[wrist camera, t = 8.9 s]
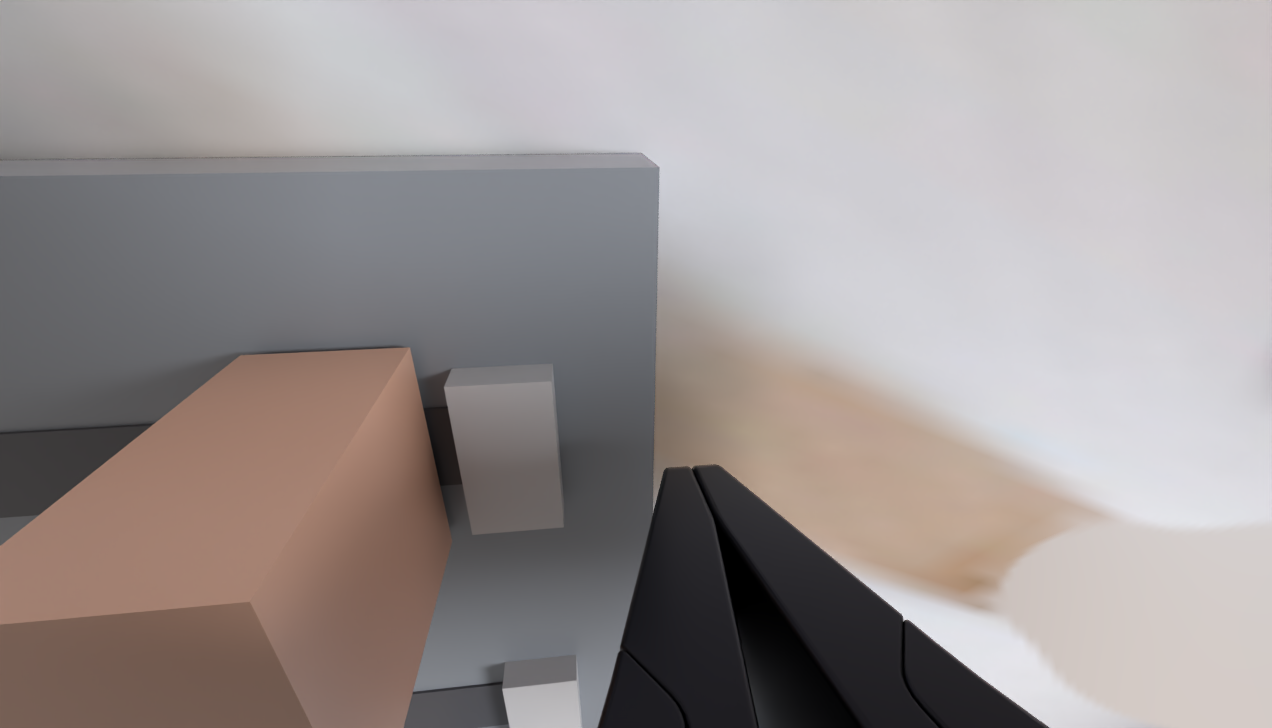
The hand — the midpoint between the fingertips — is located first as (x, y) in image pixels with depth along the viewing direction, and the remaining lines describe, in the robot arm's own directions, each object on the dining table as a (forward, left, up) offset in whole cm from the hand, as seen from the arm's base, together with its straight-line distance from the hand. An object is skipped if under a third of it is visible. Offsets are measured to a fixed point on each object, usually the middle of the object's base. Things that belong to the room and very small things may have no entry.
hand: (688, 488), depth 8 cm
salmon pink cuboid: (+5, 0, -1) cm, 5 cm away
